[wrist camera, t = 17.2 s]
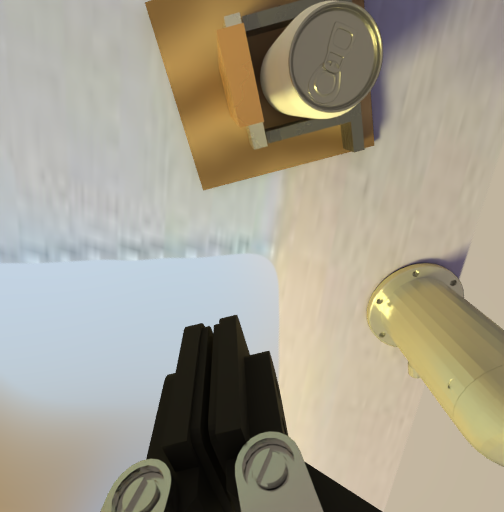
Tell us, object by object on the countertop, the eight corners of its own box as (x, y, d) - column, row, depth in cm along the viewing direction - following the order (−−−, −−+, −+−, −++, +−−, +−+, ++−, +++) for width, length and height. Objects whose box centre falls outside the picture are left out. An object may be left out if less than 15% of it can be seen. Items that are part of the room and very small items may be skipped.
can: (249, 101, 30) (265, 99, 19) (273, 22, 28) (306, -31, 17) (312, 125, 32) (360, 134, 21) (340, 51, 29) (410, 19, 18)
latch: (262, 141, 32) (298, 172, 17) (238, 147, 32) (253, 184, 17) (237, 25, 27) (255, -71, 13) (209, 32, 28) (195, -55, 13)
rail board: (369, 144, 34) (374, 145, 33) (203, 187, 34) (203, 190, 33) (354, -51, 27) (359, -58, 26) (147, 6, 28) (144, 2, 27)
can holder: (352, 145, 33) (364, 149, 30) (270, 167, 33) (274, 173, 30) (333, -42, 26) (346, -59, 24) (231, -14, 27) (232, -28, 24)
